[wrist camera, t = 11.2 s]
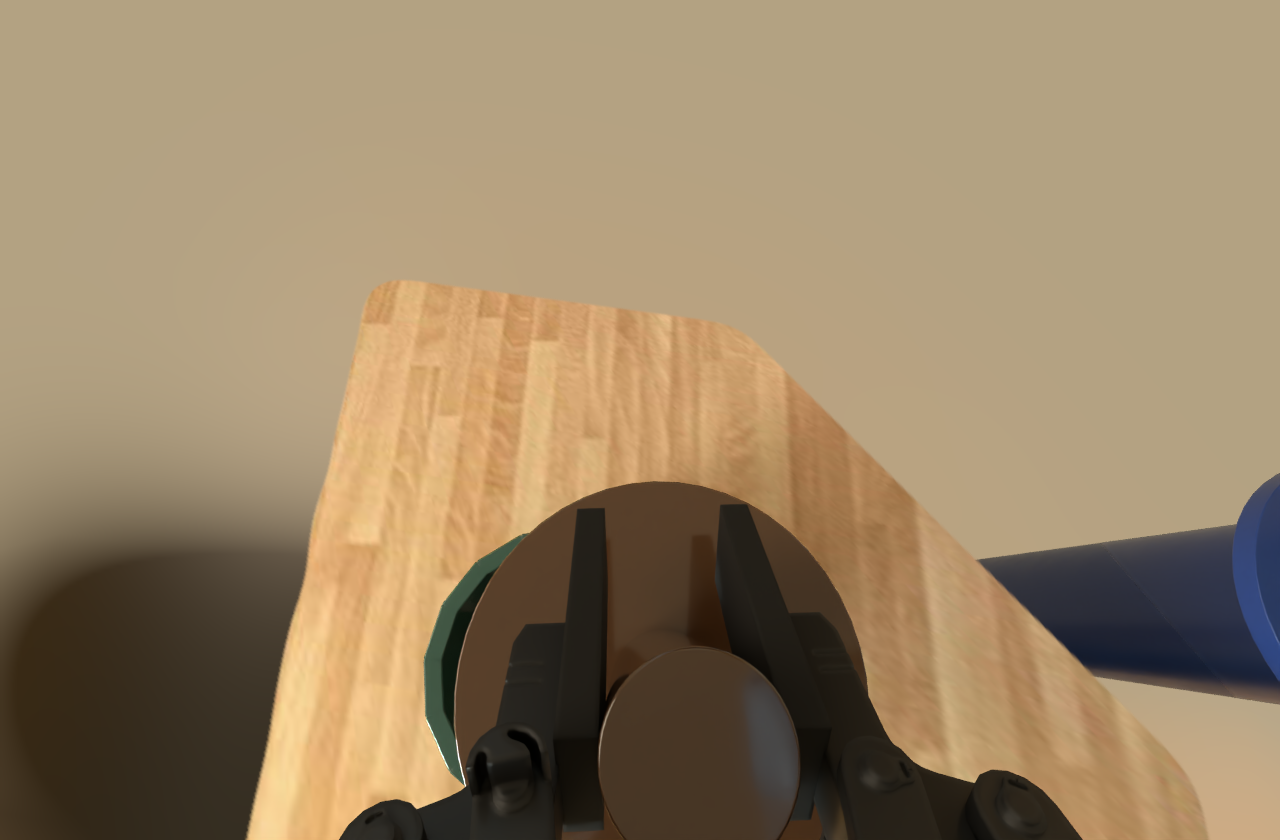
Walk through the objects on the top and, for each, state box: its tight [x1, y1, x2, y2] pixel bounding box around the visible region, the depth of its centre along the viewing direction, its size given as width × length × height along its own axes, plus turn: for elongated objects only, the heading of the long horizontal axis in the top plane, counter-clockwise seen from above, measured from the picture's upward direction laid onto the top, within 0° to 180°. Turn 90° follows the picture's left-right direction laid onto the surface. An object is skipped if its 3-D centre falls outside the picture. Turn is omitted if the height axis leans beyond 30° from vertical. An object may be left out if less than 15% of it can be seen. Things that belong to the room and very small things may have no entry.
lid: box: [454, 481, 868, 840], centre depth 13 cm, size 13×13×10 cm
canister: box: [424, 533, 529, 785], centre depth 29 cm, size 12×12×12 cm
